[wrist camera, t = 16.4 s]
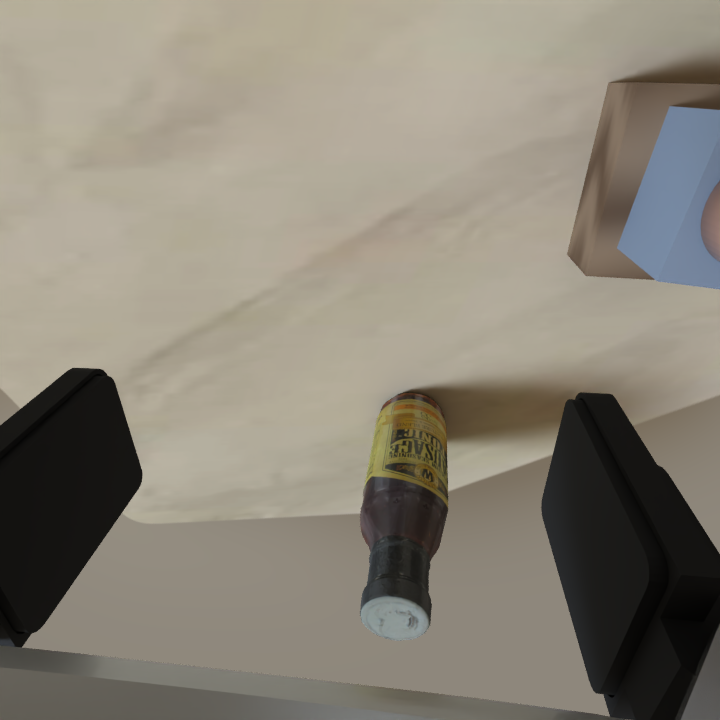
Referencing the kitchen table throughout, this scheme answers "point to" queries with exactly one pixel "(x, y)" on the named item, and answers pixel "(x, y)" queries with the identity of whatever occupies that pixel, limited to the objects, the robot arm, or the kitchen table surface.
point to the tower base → (624, 169)
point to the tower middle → (677, 201)
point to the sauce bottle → (403, 515)
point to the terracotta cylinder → (712, 223)
